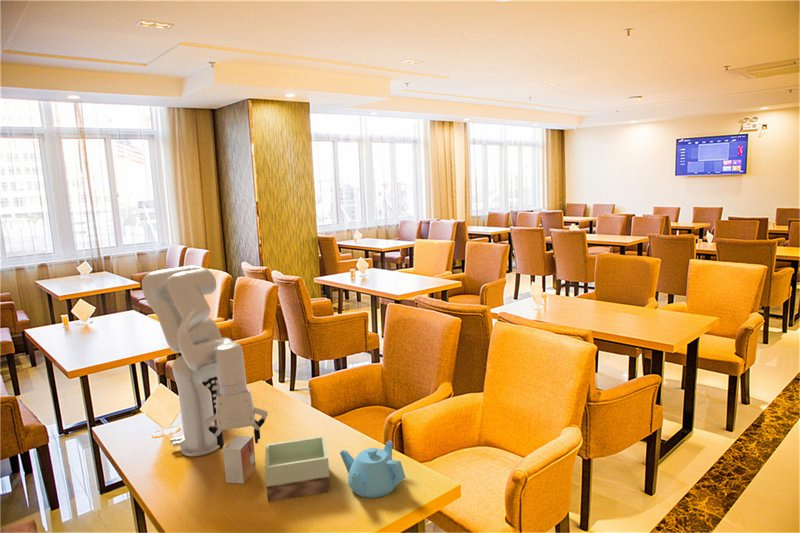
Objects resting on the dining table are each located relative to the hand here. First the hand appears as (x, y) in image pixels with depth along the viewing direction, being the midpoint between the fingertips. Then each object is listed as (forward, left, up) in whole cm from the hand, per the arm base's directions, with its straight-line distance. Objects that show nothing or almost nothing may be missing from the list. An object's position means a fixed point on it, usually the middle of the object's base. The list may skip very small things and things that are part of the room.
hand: (239, 444), depth 153 cm
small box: (0, +1, -10) cm, 10 cm away
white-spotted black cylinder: (-14, +45, -10) cm, 48 cm away
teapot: (+36, -15, -10) cm, 40 cm away
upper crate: (+16, -8, -6) cm, 19 cm away
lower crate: (+16, -8, -10) cm, 20 cm away
